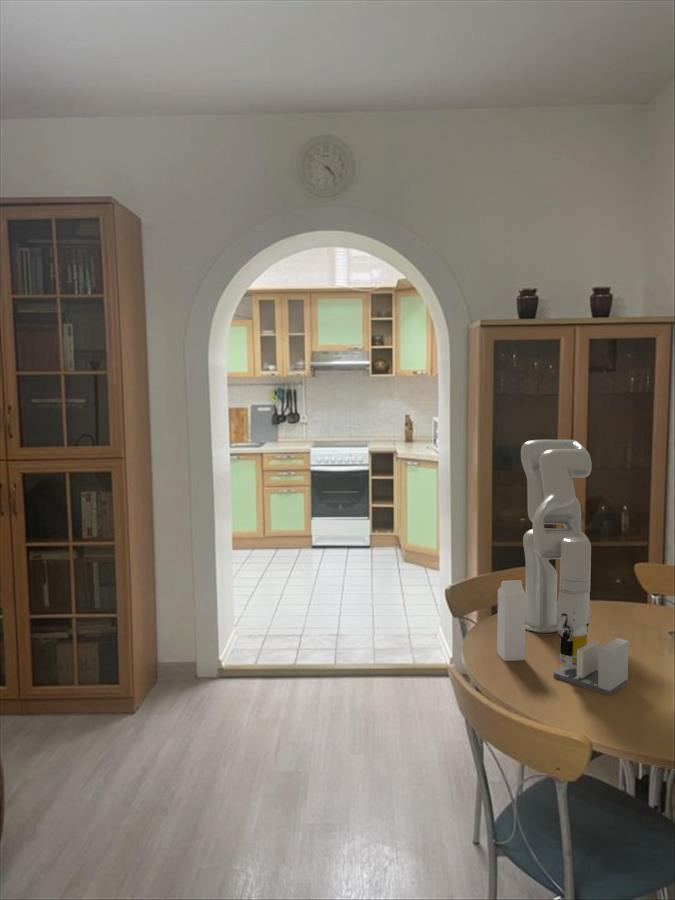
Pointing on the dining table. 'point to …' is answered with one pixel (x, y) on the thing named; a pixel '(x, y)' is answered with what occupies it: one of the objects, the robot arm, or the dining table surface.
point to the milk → (511, 621)
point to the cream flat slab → (587, 659)
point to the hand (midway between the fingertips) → (573, 650)
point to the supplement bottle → (574, 646)
